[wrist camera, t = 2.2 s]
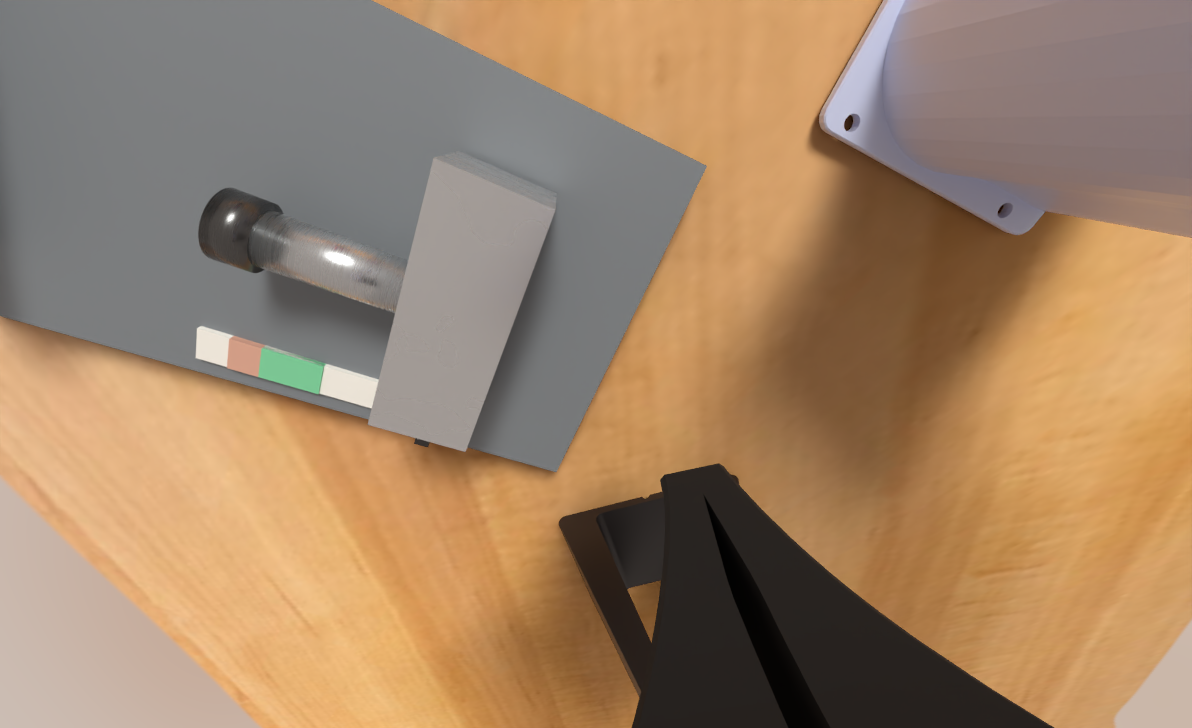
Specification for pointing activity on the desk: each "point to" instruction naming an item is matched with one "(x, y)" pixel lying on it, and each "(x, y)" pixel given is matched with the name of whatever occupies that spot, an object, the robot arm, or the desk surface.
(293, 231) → the gauge plunger
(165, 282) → the frame
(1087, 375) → the desk surface
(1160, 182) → the robot arm
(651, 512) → the phone stand
